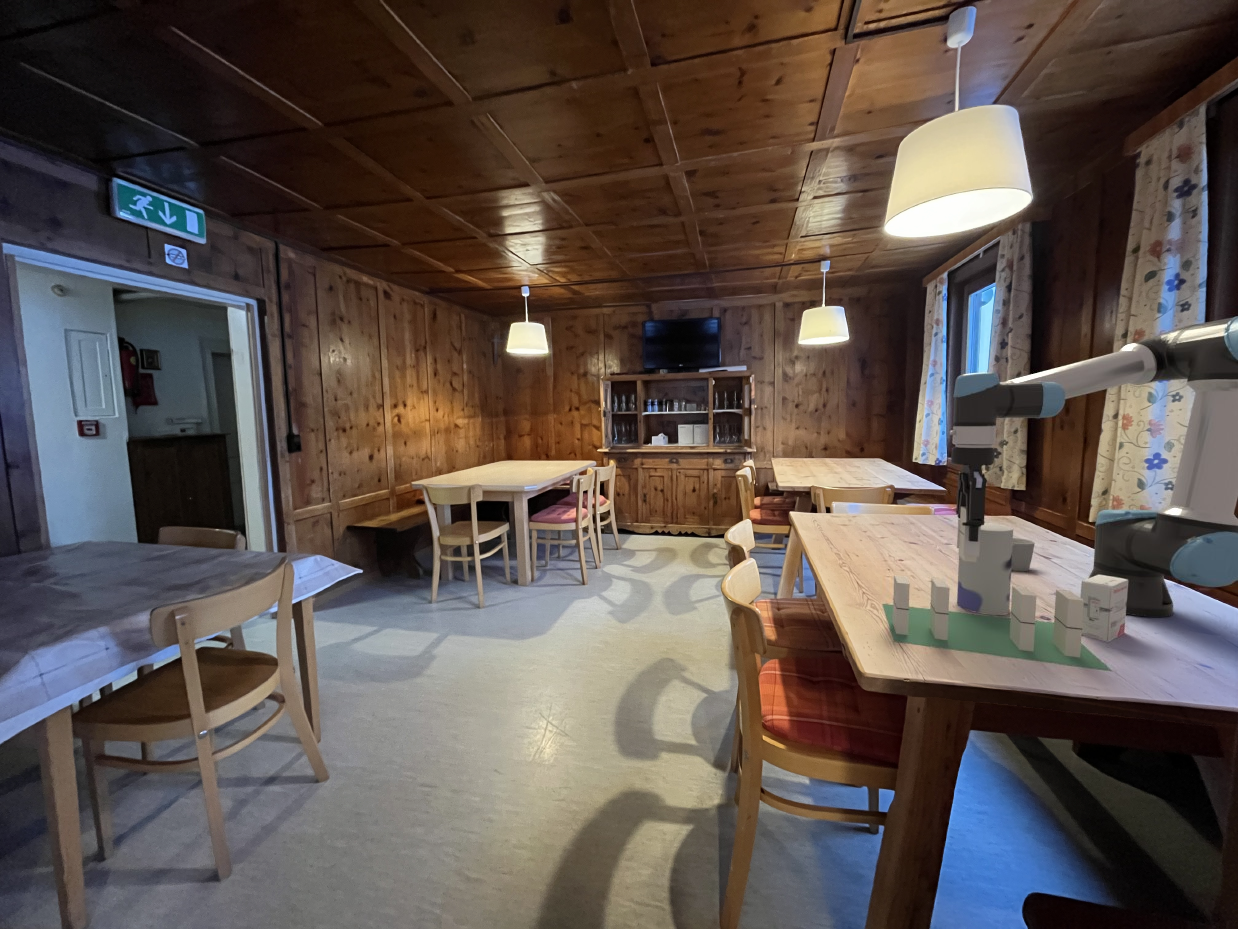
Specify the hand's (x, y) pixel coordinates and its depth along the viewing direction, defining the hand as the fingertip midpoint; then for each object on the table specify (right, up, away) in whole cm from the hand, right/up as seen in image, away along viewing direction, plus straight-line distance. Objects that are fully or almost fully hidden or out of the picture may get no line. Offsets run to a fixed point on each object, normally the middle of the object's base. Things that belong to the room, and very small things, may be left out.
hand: (967, 551), depth 108 cm
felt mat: (-1, -17, -4) cm, 17 cm away
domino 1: (-16, -16, -2) cm, 23 cm away
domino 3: (0, -1, 0) cm, 1 cm away
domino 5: (+10, -17, -13) cm, 23 cm away
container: (+10, -15, +10) cm, 21 cm away
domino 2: (-9, -16, -5) cm, 20 cm away
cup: (+41, -12, +38) cm, 57 cm away
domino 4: (+3, -17, -10) cm, 20 cm away
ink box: (+24, -16, -6) cm, 29 cm away
